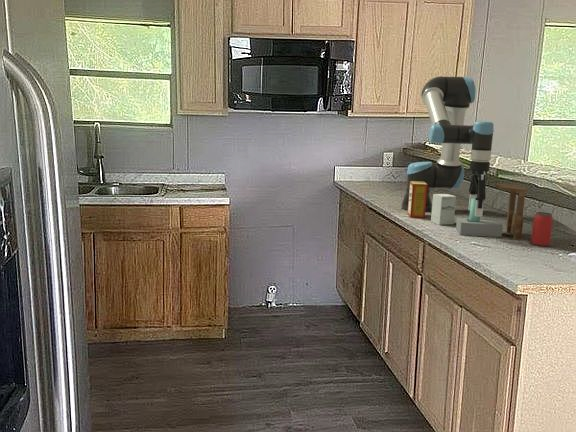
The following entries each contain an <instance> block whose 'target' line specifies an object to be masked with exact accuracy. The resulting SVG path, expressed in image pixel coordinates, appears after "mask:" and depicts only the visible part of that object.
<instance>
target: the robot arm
mask: <svg viewBox="0 0 576 432" xmlns="http://www.w3.org/2000/svg"><path fill="white" fill-rule="evenodd" d="M420 96H421V99H422V100H421V101H422V102H423V104H424V105H425V106H426V108H427V109H426V110H427V112H428V116H429V119H430V123H431V125H430V127H429V131H428V139H429V142H430V143H432V144H433V143H434V144H435V143H437V144H442V145H441V150H440V151H441V153H440V158H439V159H437V160H436V164H433V162H432V161H418V162H412V163H410V164H409V165H408V166H407V172H406V187H405V194H404V197H403V199H402V202H401V209H403V210H406V211H408V202H409V188H410V181H418V182H425V183H426V184H428V185H427V197H426V210H425V212H430V211H431V212H432V203H433V201H432V198H431V193H430V192H431V189H436V190H437V189H438V190H439V189H440V190H441V189H442V190H458V189H459V188H460V187H461V185H462V184H463V181H464V178H465V168H464V166H462V162H461V161H460V152H461V147H462V145H471V151H469V155H470V162H469V170H470V171H472V173H471V179H470V184H469V189H468V192H469V199H468V200H469V201H468V211H470V206H471V199H472V198H476V199H475V200H476V208H475V216H478V217H480V218H481V217H483V213H484V204H485V203H484V202H485V200H486V195H487V194H486V177H487V175H486V174H485V173H484V172H489V171H490V165H491V162H490V161H491V159H492V158H491V156H492V145H493V136H494V131H495V130H494V126H495V125H494V122H492V121H475V122H474V123H473V125H472V124H471V125H464V123H465V116H466V111H467V110H468V109H469V108H470V105H471V104H473V103H475V99H476V85H475V81H474V79H473V78H472V77H467V76H442V75H441V76H436V77H433V78H432V79H430V80H428V81H427V82H426V83H425V84H424V85H423V88H422V90H421V95H420ZM461 144H462V145H461Z"/></svg>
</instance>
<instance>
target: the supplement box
mask: <svg viewBox="0 0 576 432" xmlns="http://www.w3.org/2000/svg"><path fill="white" fill-rule="evenodd" d="M432 195H433V196H432V210H431V217H430V222H431V223H433V224H436V225H439V226H441V225H454V224H455V215H456V214H455V213H456V203H457V201H456V200H457V196H456V195H452V194H448V193H434V194H432Z"/></svg>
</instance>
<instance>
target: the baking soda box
mask: <svg viewBox="0 0 576 432" xmlns="http://www.w3.org/2000/svg"><path fill="white" fill-rule="evenodd" d="M427 185H428V184H426V183H425V182H418V181H410V188H409V202H408V210H407V215H408V217H409V218H410V219H413V218H414V219H425V218H426V211H425V210H426V197H427Z"/></svg>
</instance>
